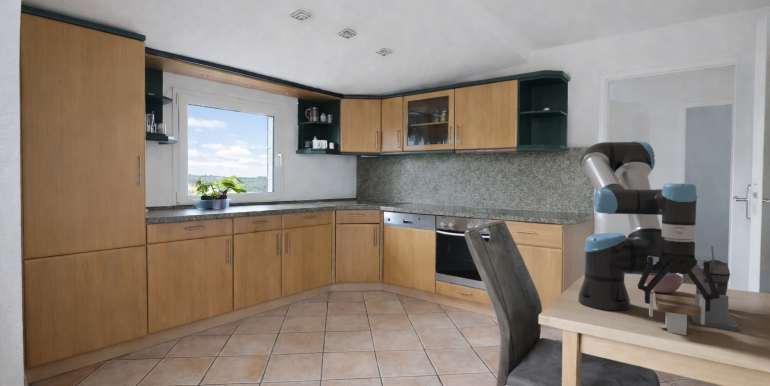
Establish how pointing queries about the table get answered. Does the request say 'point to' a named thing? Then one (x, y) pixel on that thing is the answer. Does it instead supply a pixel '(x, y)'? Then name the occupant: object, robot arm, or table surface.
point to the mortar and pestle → (666, 283)
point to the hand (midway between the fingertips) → (675, 318)
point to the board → (677, 305)
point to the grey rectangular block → (676, 323)
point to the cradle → (715, 311)
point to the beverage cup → (718, 274)
